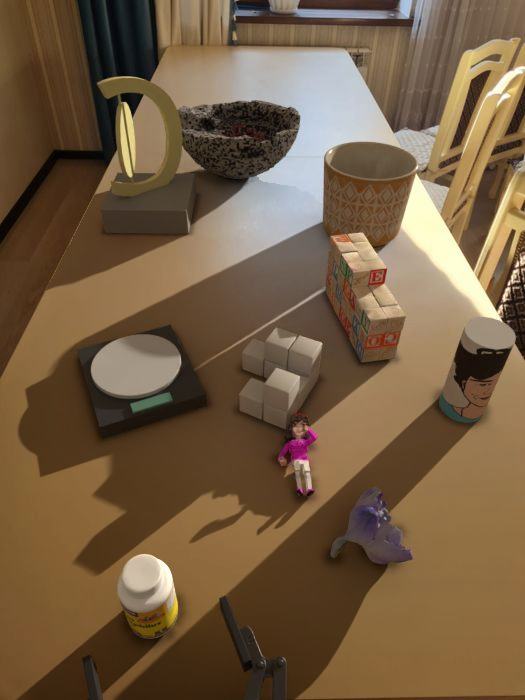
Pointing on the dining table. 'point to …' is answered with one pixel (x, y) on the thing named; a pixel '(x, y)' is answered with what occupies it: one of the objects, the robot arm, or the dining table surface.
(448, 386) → the illustrated cylindrical canister
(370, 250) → the stack of blocks
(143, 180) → the trophy
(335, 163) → the planter
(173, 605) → the supplement bottle
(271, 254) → the dining table surface
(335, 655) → the dining table surface
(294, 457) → the character figurine
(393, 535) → the flower
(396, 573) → the dining table surface
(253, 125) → the bowl
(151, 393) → the kitchen scale
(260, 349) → the white cube cluster
